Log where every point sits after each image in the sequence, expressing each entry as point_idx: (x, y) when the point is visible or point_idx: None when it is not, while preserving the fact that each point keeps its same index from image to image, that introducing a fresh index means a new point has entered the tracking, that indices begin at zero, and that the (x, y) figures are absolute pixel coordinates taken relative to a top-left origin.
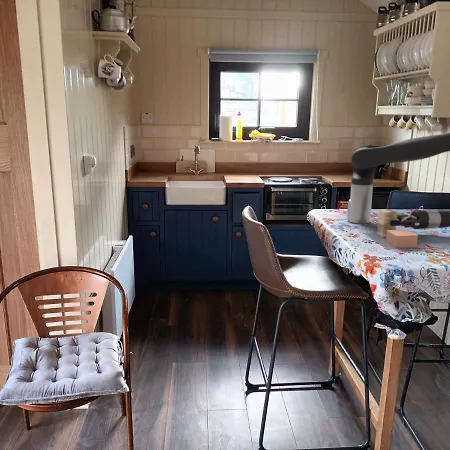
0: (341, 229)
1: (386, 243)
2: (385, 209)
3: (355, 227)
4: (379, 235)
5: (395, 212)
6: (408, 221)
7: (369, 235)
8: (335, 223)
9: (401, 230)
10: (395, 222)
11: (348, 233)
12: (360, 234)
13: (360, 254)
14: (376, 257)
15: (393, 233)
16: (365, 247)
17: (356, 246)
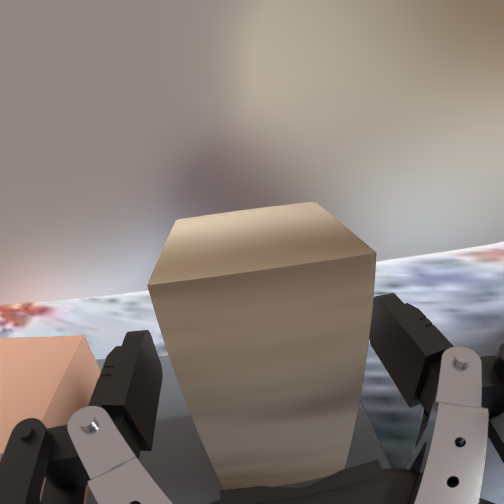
0: (408, 281)
1: None
2: (336, 222)
3: (477, 316)
4: None
5: (154, 282)
6: (6, 446)
7: None
8: (492, 267)
9: (31, 407)
10: (106, 366)
11: None
12: None
13: (57, 303)
14: (15, 325)
15: (17, 341)
16: (106, 324)
17: (130, 306)
